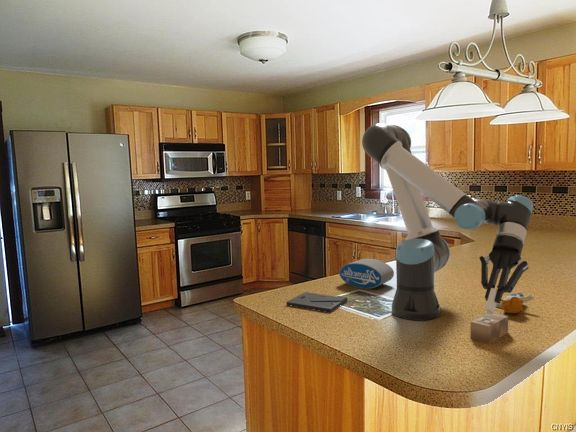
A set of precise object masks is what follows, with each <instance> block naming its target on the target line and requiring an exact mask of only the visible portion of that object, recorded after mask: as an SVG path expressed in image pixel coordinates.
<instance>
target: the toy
mask: <svg viewBox="0 0 576 432" xmlns="http://www.w3.org/2000/svg"><path fill="white" fill-rule="evenodd" d="M534 299H535V297H534V296H532V295H531V294H528V295H525V296H524V294H523V292H522V291H518V292H515V293H508V294H507V296H505V297H504V298H503V299H501V302H500V303H496V306H495V308H501V309H502V311H503V312H504V313H508V314H519V313H520V312H521V311H522V313H525V311H524V308H523V304H525V303H527V302H530V301H532V300H534Z"/></svg>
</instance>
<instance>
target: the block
mask: <svg viewBox="0 0 576 432" xmlns="http://www.w3.org/2000/svg"><path fill="white" fill-rule="evenodd" d="M507 334H509V315H505V314H501V313H496V312H494V314H488V313H487V312H486V313H485V314H484V315H482V316H479V317H477V318H475V319H473V320H471V321H470V340H474V341H477V342H481V343H484V344H486V345H490V344H491V343H493V342H494V341H496V340H498V339H500V338H501V337H503V336H505V335H507Z"/></svg>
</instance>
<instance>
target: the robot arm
mask: <svg viewBox="0 0 576 432" xmlns="http://www.w3.org/2000/svg"><path fill="white" fill-rule="evenodd" d="M361 138H362V139H361V144H362V149H363V150H364V152H365V153H366V154H367V156H369V157H370V158H372V159H373V160H374V161H375V162H377V163H378V164H379V167H380V168H381V169H383V170H385V171H386V173H387V176H388V179H389V182H390V184H391V185H390V186H391V188H392V191H393V193H394V197H395V199H396V202H397V205H398V208H399V211H400V214H401V216H402V220H403V223H404V225H405V228H406V232H407V235H406V237H405V239H404V240H401V241H400V242H398V244H397V245H396V251H395V262H396V263H395V264H396V265H395V266H396V268H395V269H396V270H395V271H396V272H395V273H396V290H395V294H394V297H393V299H392V302H391V312H392V314H393V315H394V316H396V317H398V318H400V319H405V320H412V321H428V320H433V319H436V318H438V317H440V315H441V306H440V303H439V300H438V297H437V295H436V291H435V273H436V272H438V271H439V270H442V269H443V268H444V267H445V266H446V264H447V263H448V262H449V260H450V256H451V249H450V246H449V244H448V242H447V241H446V240H445V239H443V238H442V235H441V233H440V230H439V229H438V228H437V227H434V225H433V224H432V221H431V218H430V215H429V213H428V210H427V207H426V204H425V202H424V198H423V196H425V197H426V198H428V199H429V200H431V201H432V202H434V203H435V204H436V205H437V206H438V207H440V208H441V209H442V210H444V211H445V212H446V213H448V214H449V215H450V216H451V217H452V218H454V221H455V223H456V226H458V227H459V228H461V229H463V230H475V229H478V228H480V227H482V225H483V224H487V225H495V226H498V229H497V232H496V235H495V239H494V242H493V244H492V249H491V251H490V252H489V253H488V255H485V256H482V255H481V256H479V260H480V263H481V264H480V265H481V274H480V276H481V277H480V278H481V279H480V282H481V286H482V288H483V289H484V290H486V291H485V295H484V300H485V301H486V304H485V308H484V309H485V311H486V314H487V313H488V314H494V313H495V310H496V307H495V306H496V303H500V302H502V301H501V300H503V295H504V294H505V293H508V294H512V292H513V290H514V288H515V287H516V285H517V284H518V282H519V281H520V278H521V277H522V275H523V273H525V272H526V271H527V270H528V269H529V268H530V267H529V265H528V264H529V263H528V262H527V261H526V260H522V257H521V255H522V252H523V247H524V244H525V240H526V236H527V232H528V229H529V226H530V222H531V219H532V214H533V209H534V204H533V201H532V200H531V199H530V198H528V197H526V196H524V195H520V194H519V195H517V194H516V195H512V196H509V197H508V198H507V200H505V201H500V200H499V201H498V200H493V199H492V200H491V199H490V200H489V199H483V198H478V197H470V196H468V194H466V193H465V192H464V191H462V190H461V189H460V188H458V187H457V186H456V185H454V184H453V183H451V182H450V181H449V180H448V179H446V178H445V177H444V176H442V175H441V174H440V173H438V172H437V171H435V170H434V169H432V168H431V167H430V166H428V164H426V163H425V162H423V161H422V160H421V159H419V158H418V157H417V156H415V155H414V154H413V153H412V151H411V146H412V138H411V136H410V134H409V132H408V131H407V130H406V129H405V128H403V127H401V126H399V125H395V124H386V123H376V124H372V125H370V126H369V127H368V128H367V129H366V130H365V132H364V133H363V135H362V137H361ZM422 194H423V196H422ZM490 262H491V263H492V269H491V272H490V276H489V275H488V274H489V267H488V265H489V264H490ZM515 267H516V268H515ZM513 268H515V269H514V270H513V272H512V274H511V271H512V269H513ZM510 274H511V275H510ZM499 275H500V276H499ZM509 275H510V278H509ZM498 278H499V280H498ZM497 281H498V284H497Z"/></svg>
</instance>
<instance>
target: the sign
mask: <svg viewBox="0 0 576 432" xmlns="http://www.w3.org/2000/svg"><path fill="white" fill-rule="evenodd" d="M338 274H339V277H340V279H342V281H344V282H345V283H346V284H348V285H350V286H352V287H355V288H358V289H359V288H360V289H364V288H365V289H375V288H378V287H380V286H382V285H383V284H385V283H387V282H389V281H391V280H392V279H393V278H394V276H395V270H394V269H393V268H392V267H391V265H389V264H388V263H386V262H385V261H381V260H380V259H375V258H360V259H358V260H355V261H353V262H350V263H347V264H345V265H343V266H342V267H340V268H339V272H338ZM365 289H364V290H365Z"/></svg>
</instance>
